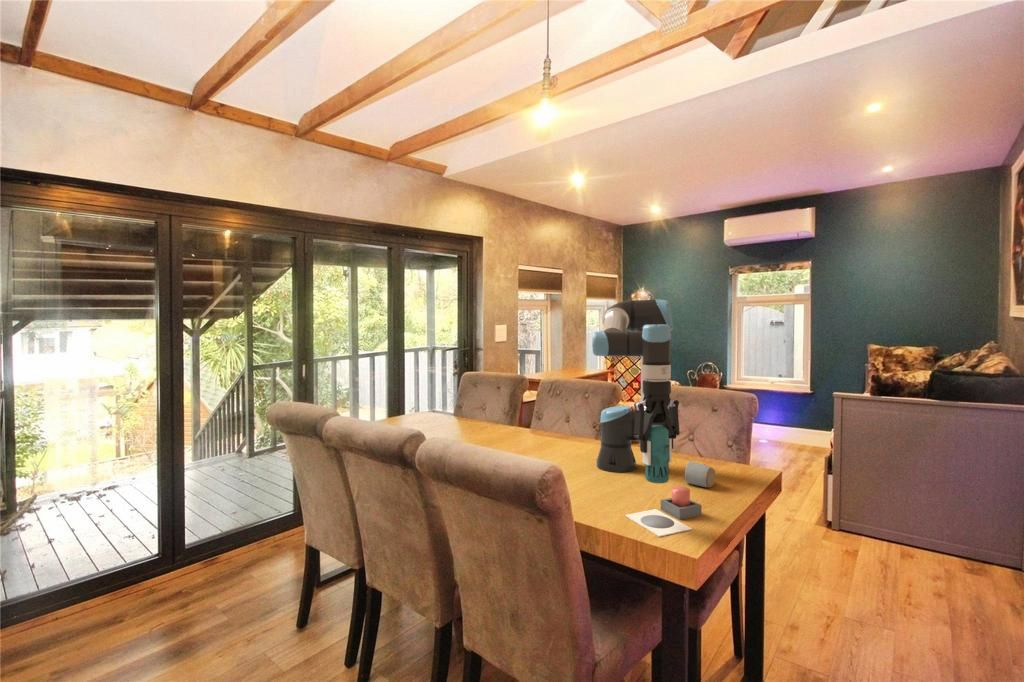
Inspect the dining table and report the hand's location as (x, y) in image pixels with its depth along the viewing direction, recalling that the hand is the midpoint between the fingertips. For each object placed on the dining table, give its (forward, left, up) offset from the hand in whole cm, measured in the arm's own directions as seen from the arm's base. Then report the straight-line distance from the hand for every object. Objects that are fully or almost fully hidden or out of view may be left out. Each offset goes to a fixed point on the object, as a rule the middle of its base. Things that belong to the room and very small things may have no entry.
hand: (657, 462), depth 132 cm
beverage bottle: (0, 0, -7) cm, 7 cm away
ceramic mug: (-20, +35, -17) cm, 44 cm away
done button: (-3, +11, -15) cm, 19 cm away
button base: (-3, +11, -17) cm, 21 cm away
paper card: (0, 0, -17) cm, 17 cm away
